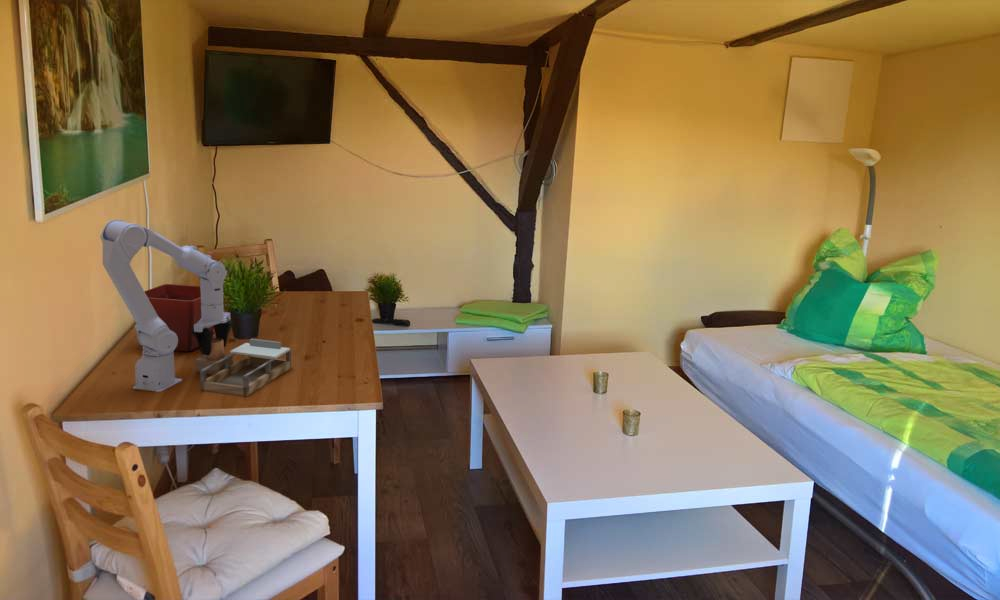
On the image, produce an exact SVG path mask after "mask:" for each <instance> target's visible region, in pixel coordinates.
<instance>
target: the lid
mask: <svg viewBox="0 0 1000 600" xmlns="http://www.w3.org/2000/svg"><path fill="white" fill-rule="evenodd" d="M288 351H291V348H290V347H286V346H285V347H282V342H281V341H276V340H275V341H274V340H267V339H258V338H250V339H249V342H245V343H242V344H241V345H238V346H237V347H235V348H233V349H231V350H230V351H229V354H235V355H240V356H247V355H248V356H256V357H264V358H272V359H276V358H277V359H279V358H280V357H282V356H283V354H284V353H285V354H286V352H288ZM285 354H284V355H285ZM281 355H282V356H281ZM279 356H280V357H279ZM278 357H279V358H278Z"/></svg>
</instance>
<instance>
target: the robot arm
mask: <svg viewBox="0 0 1000 600" xmlns="http://www.w3.org/2000/svg"><path fill="white" fill-rule="evenodd" d="M100 240H101V242H102V265H103V267H104V269H105V270H106V272H107V274H108V276H109V278H110V280H111V281H112V283H113V284H114V286H115V288H116V290H117V292H118V293H119V295H120V297H121V299H122V300H123V302H124V304H125V306H126V308H127V309H128V311H129V313H130V314H131V316H132V317H133V319H134V321H135V325H134V330H135V331H136V333H137V336H136V337H137V342H138V343H139V344H140V345H141V346H142V356H141V358H140V359H138V360H137V361H136V362H135V365H134V375H135V385H134V386H133V387H132V388H133V390H139V391H142V390H143V391H148V392H149V391H152V392H156V393H157V392H158V393H160V392H163V391H165V390H167V389H168V388H171V387H172V386H175V385H176V384H178V383H180V382H182V381H183V379H182V378H177V377H176V375H175V374H176V373H175V354H174V353H175V352H174V351H176V350H175V348H176V347H177V344H178V337H177V335H176V334H175V333H174V332H173V331H171V330H170V329H169V328H168V326H167V325H166V324H165V323H164V322H163V321H162V320H161V319H160V318H159V317H158V315H157V313H156V312H155V310H154V308H153V306H152V304H151V303H150V301H149V299H148V297H147V295H146V294H145V292H144V291H145V290H144V288H143V286H142V284H141V282H140V281H139V279H138V277H137V276H136V273H135V272H134V270H133V268H132V265H131V262H132V259H133V258H134V257H136V255H137V254H138V253H139V252H140V251H141V249H142V248H148V247H151V248H153V249H156V250H158V251H160V252H162V253H164V254H166V255H168V256H170V257H172V258H173V259H174V262H175V264H176V265H177V266H179V267H181V268H182V269H185V270H186V271H188V272H190V273H193V274H194V275H195V276H196V277H198V278H199V284H200V285H199V286H200V290H201V319H200V320H199V321H198V322H197V323H196V324H194V329H193V330H192V334H193V335H194V336H195V338H196V340H197V342H198V344H199V347H198V348H199V349H200V352H201V355H202V356H204V355H210V352H211V341H212V337H213V334H214V335H216V338H220V339H223V344H224V348H225V347H226V345H227V342H228V338H229V335H230V331H231V329H232V328H233V325H234V321H232V320H231V317H232V316H231V312H227V311H226V312H224V281H225V279H226V277H227V275H228V270H226V266H225V265H224V264H223V262H222V261H219V260H216V259H215V260H214V259H212V256H211V255H210V254H204V253H202V252H201V251H199V250H198V247H196V246H194V245H190V246H189V245H183V246H180V245H178V244H176V243H174V242H173V241H171V240H170V239H168V238H166V237H165V236H163V235H161V234H159V233H158V232H156V231H154V230H152V229H151V228H146V227H144V226H142V225H140V224H138V223H131V222H126V221H124V220H122V219H112V220H109V221H108V222H107V223H106V224H105V225H104V227H103V229H102V231H101V233H100ZM230 320H231V321H230ZM211 326H213V327H214V328H213V331H209V330H208V328H209V327H211Z"/></svg>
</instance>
